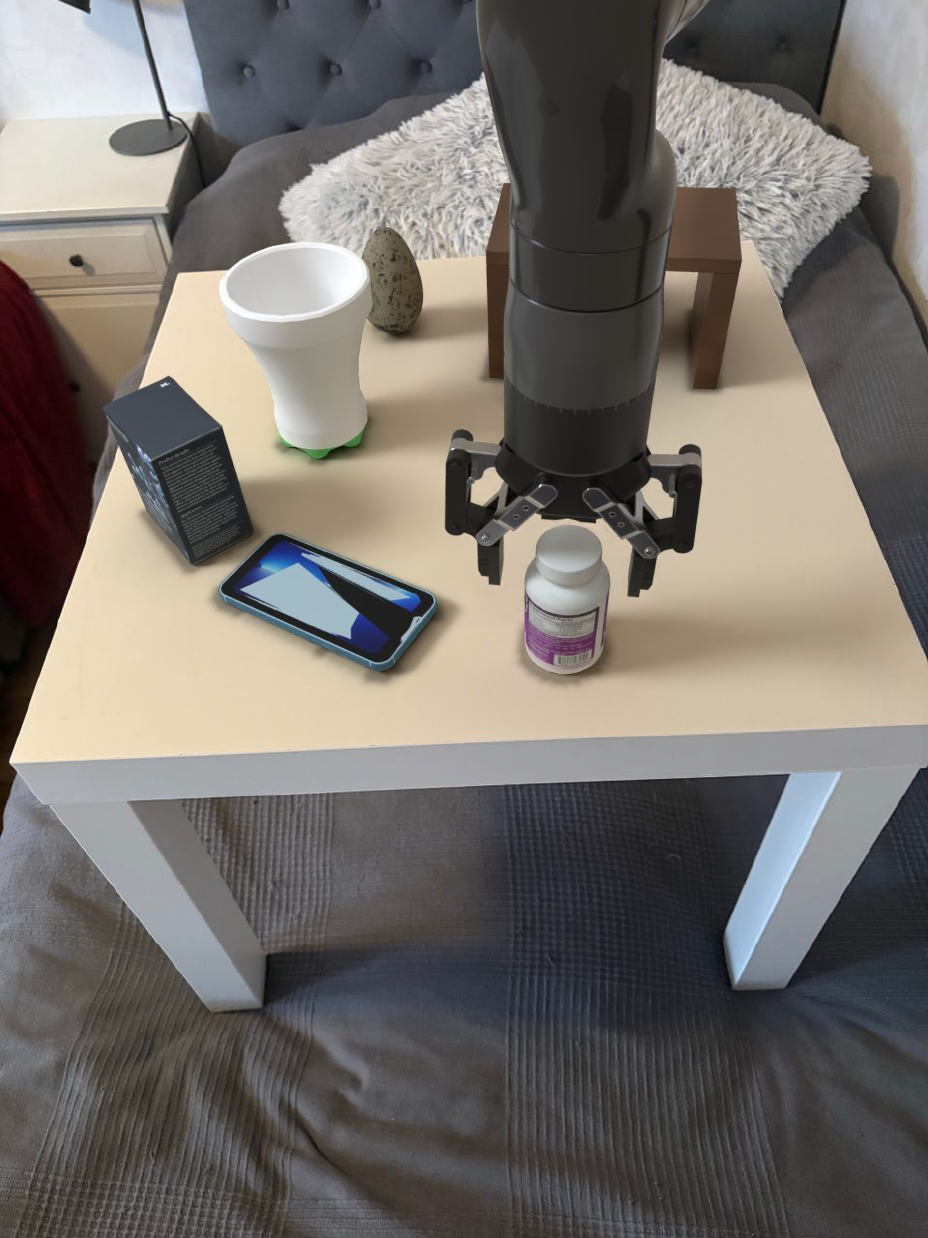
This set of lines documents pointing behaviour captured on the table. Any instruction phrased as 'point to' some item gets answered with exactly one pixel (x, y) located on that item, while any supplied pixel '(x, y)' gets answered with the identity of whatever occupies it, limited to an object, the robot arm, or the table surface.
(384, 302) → the decorative egg
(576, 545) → the pill bottle
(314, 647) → the table surface
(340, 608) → the smartphone
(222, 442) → the box
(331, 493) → the table surface
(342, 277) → the cup
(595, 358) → the robot arm
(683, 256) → the desk shelf
